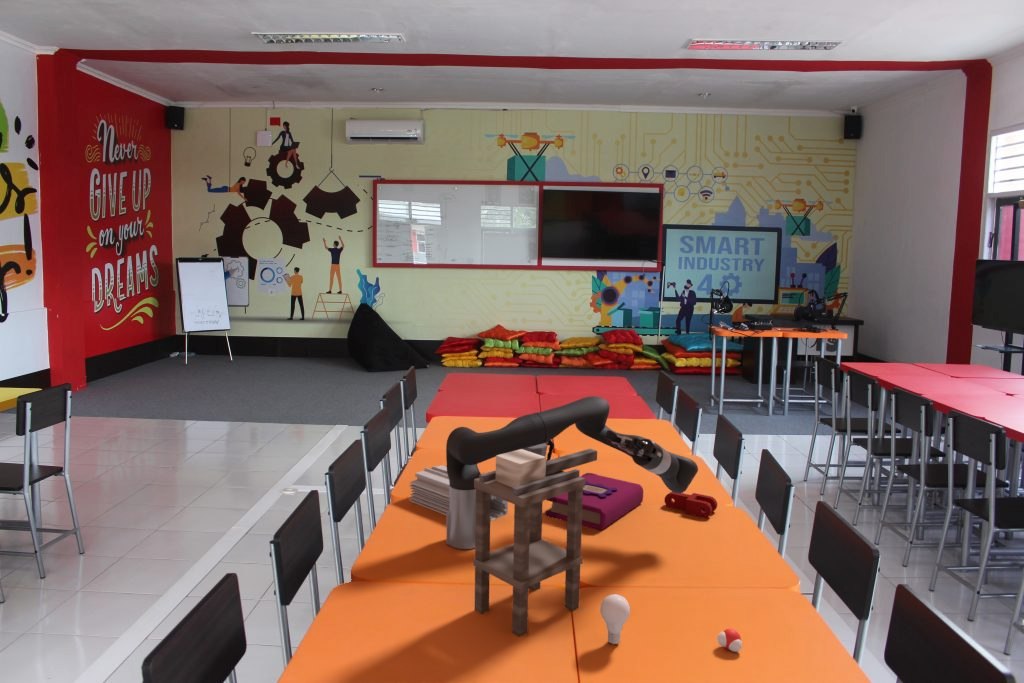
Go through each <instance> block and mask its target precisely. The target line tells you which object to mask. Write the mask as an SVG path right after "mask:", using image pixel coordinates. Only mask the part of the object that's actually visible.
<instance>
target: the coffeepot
mask: <svg viewBox="0 0 1024 683" xmlns="http://www.w3.org/2000/svg"><path fill="white" fill-rule="evenodd" d="M548 446H549V447H548ZM554 448H555V444H554V442H553V441H552V440H550V441H548V442H546V443H543V444H539V445H536V446H532V447H528V448H524V449H523V450H526V451H529V452H532V453H535V454H538V455H541V456H544V457H546V461H548V460H551V458H552V456H553V451H554ZM547 449H548V450H547ZM547 451H548V452H547ZM546 455H547V456H546Z"/></svg>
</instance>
